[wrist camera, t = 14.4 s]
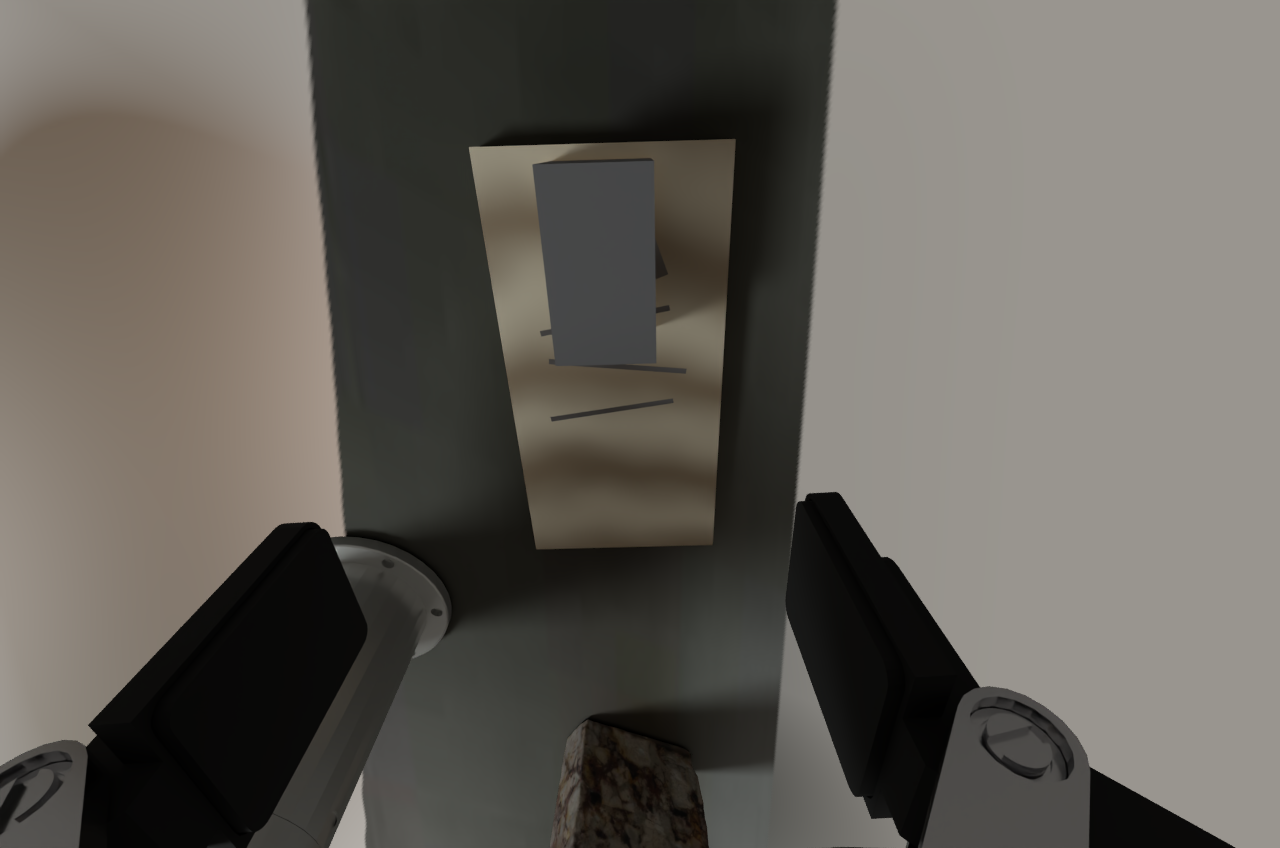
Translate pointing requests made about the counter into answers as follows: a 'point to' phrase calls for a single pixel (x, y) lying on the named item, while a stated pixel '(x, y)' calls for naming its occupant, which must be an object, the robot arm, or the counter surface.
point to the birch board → (623, 393)
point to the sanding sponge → (599, 259)
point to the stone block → (626, 793)
